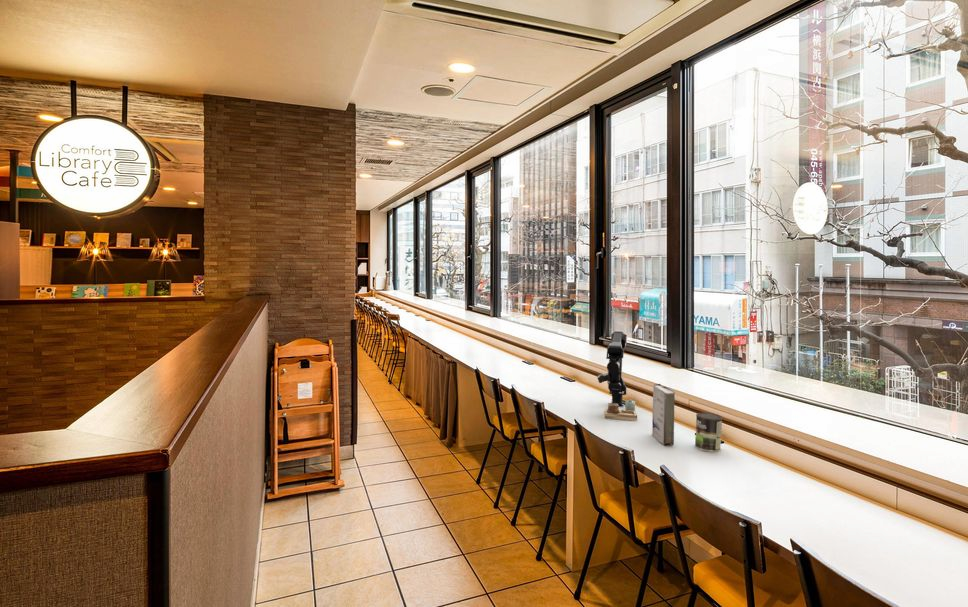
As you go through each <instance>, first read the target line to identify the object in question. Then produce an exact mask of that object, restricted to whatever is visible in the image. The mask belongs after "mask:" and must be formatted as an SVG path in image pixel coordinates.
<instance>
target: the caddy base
mask: <svg viewBox="0 0 968 607" xmlns="http://www.w3.org/2000/svg"><path fill="white" fill-rule="evenodd" d="M603 410H604V411H603V413H604V419H610V418H612V419H613V420H624V419H625V420H626V421H627V420H629V421H638V413H637V411H636V410H635V411H628V410H625V409H618V414H614V413H608V408H604V409H603Z"/></svg>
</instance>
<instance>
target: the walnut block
mask: <svg viewBox="0 0 968 607" xmlns="http://www.w3.org/2000/svg"><path fill="white" fill-rule="evenodd" d="M607 409H608V413H614V414H618V410H619V406H618V404H616V403H611V402H608V403H607Z"/></svg>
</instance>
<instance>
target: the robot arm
mask: <svg viewBox="0 0 968 607" xmlns="http://www.w3.org/2000/svg"><path fill="white" fill-rule="evenodd" d="M610 336H611V337H610V343H609V344H608V346H607V348H606V349H607V350H606V356H605V359H606V360H608V362H607V365H606V369H607V373H603V374H599V375H597V376H596V378H597V381H598V383H599V384H601V383H604V382H607V388H608V390H609V394H611V401H610V403H616V404H618V407H624V403H623V396H625V395H626V396H627V386H626V384H625V380H624V378H623V377H622V376H623V375H622V374H623V373H622V372H623V359H624V354H625V348H626V346H627V344H628V335H627V334H625V333H624V331H618V330H615V331H613V333H611V335H610ZM622 403H623V404H622Z"/></svg>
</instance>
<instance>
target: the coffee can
mask: <svg viewBox="0 0 968 607" xmlns="http://www.w3.org/2000/svg"><path fill="white" fill-rule="evenodd" d="M722 424H723V416H721V415H719V414H718V413H712V412H698V413H696V421H695V442H694V447H695V448H696V449H697V450H699V451H702V452H709V453H717V452H721V446H722V445H721V442H722V427H723V426H722Z"/></svg>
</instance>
